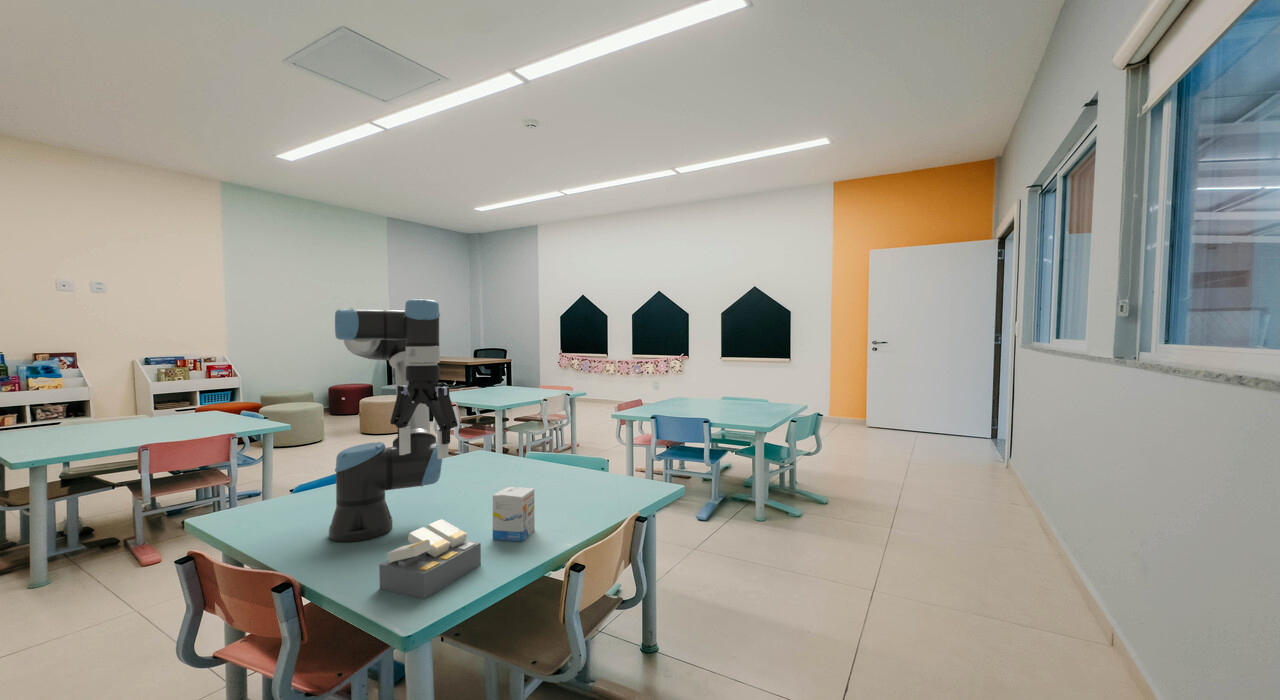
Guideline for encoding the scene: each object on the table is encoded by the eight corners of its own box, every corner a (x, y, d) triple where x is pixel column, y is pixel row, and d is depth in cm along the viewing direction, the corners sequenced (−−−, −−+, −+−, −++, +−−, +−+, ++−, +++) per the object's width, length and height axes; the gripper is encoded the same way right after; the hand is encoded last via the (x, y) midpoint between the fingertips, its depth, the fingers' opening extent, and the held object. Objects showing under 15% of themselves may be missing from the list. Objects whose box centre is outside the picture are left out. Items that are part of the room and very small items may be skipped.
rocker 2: (407, 540, 111) (409, 532, 111) (421, 534, 115) (423, 526, 115) (434, 557, 108) (436, 548, 108) (448, 550, 112) (450, 541, 112)
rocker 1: (388, 562, 106) (386, 552, 106) (404, 555, 110) (401, 545, 110) (416, 556, 103) (414, 546, 103) (431, 548, 107) (428, 539, 107)
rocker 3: (426, 532, 116) (428, 523, 116) (439, 526, 120) (441, 518, 120) (453, 547, 114) (455, 539, 113) (465, 541, 117) (467, 533, 117)
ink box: (522, 542, 130) (521, 496, 130) (491, 539, 132) (491, 494, 132) (535, 530, 139) (535, 487, 139) (506, 528, 140) (506, 485, 140)
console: (379, 588, 106) (379, 559, 106) (440, 556, 121) (439, 531, 121) (424, 598, 101) (423, 568, 101) (480, 564, 117) (480, 538, 117)
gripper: (373, 364, 122) (374, 455, 123) (450, 365, 114) (451, 463, 114) (398, 363, 129) (399, 449, 130) (473, 364, 121) (473, 456, 121)
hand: (423, 455), depth 122 cm, fingers open, 11 cm apart
